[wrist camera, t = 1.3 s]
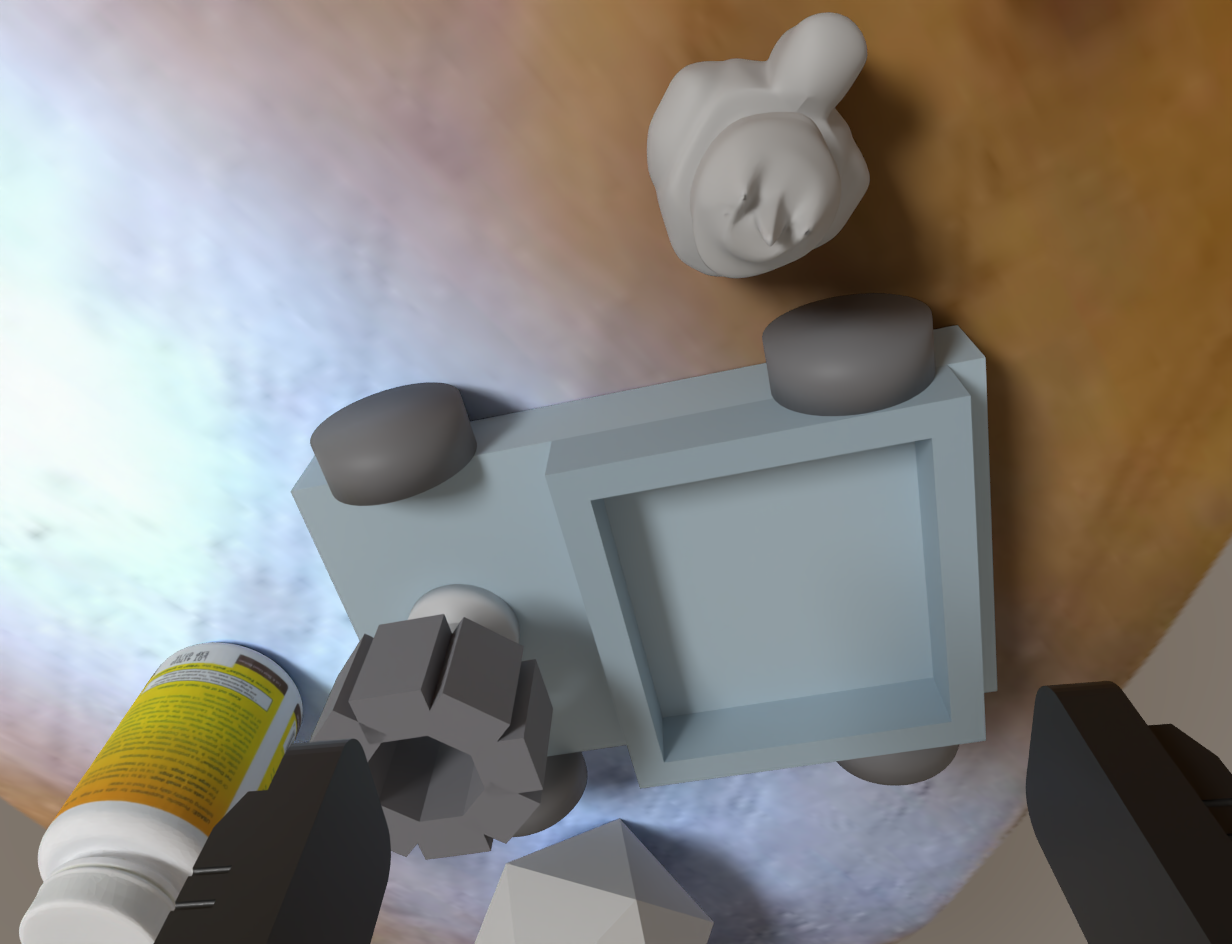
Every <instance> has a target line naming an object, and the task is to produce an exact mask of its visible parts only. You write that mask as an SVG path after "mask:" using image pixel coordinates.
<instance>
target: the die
mask: <svg viewBox="0 0 1232 944" xmlns="http://www.w3.org/2000/svg"><path fill="white" fill-rule="evenodd" d="M713 924H714V922H713V921H712V920H711V919H710V918H709V917H708V915H707V914H706V913H705V912H704V911H703V910H702V909H701V908H700V907H699V905H698V904H697V903H696V902H695V901H694V900H693V899H692V898H691V897H690V896H689V894H688V893H687V892H686V891H685V890H684V889H683V888H682V887H681V886H680V885H679V883H678V882H677V881H676V880H675V879H674V878H673V877H672V876H671V875H670V873H669V872H668V871H667V870H666V869H665V868H664V867H663V866H662V865H661V864H660V862H659V861H658V860H657V859H656V858H655V857H654V856H653V855H652V854H651V853H650V851H649V850H648V849H647V848H646V847H645V846H644V845H643V844H642V843H641V841H640V840H639V839H638V838H637V837H636V836H635V835H634V834H633V833H632V832H631V830H630V829H629V828H628V827H627V826H626V825H625V824H624V823H623V822H622V820H621V819H617V820H615V821H612V822H610V823H607V824H605V825H602V826H600V827H597V828H594V829H592V830H589V831H587V832H584V833H582V834H579V835H577V836H574V837H572V838H569V839H567V840H564V841H561V842H559V843H556V844H554V845H551V846H549V847H546V848H544V849H541V850H539V851H536V852H534V853H531V854H528V855H526V856H523V857H521V858H518V859H516V860H513V861H511V862H508V863H506V865H505V867H504V870H503V872H502V875H501V878H500V880H499V883H498V885H497V888H496V890H495V893H494V895H493V898H492V901H491V903H490V906H489V908H488V911H487V913H486V916H485V918H484V921H483V924H482V926H481V929H480V931H479V934H478V936H477V939H476V941H475V944H707V942H708V939H709V936H710V933H711V930H712V927H713Z"/></svg>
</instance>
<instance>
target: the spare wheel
mask: <svg viewBox="0 0 1232 944" xmlns="http://www.w3.org/2000/svg"><path fill="white" fill-rule="evenodd" d="M523 650H524V646H522V645H520V644H518V643H516V642H514V641H512V640H510V639H508V638H506V637H504V636H502V635H500V634H498V633H496V632H494V631H492V630H490V629H488V628H486V627H484V626H482V625H480V624H478V623H476V622H474V621H471V620H469V619H467V618H465V617H463V619H462V620H461V621H460V623H459V624H458V626H457V627H456V629H455V630H454V632H453V633H452V632H451V630H450V627H449V625H448V622H447V620H446V617H445V615H444V614H440V615H434V616H428V617H422V618H416V619H410V620H404V621H398V622H393V623H387V624H381V625H379V626H378V629H377V631H376V634H375V636H374V638H373V637H371V636H369V635H367V634H364V635H363V637H362V639H361V640H360V642H359V643H358V645H357V646H356V648H355V650H354V651H353V653H352V654H351V656H350V658H349V659H348V661H347V662H346V664H345V666H344V667H343V669H342V670H341V672H340V673H339V675H338V677H337V679H336V681H335V683H334V686H333V688H332V690H331V693H330V695H329V697H328V700H327V702H326V704H325V707H324V709H323V711H322V714H321V716H320V718H319V721H318V723H317V725H316V727H315V730H314V732H313V734H312V737H311V739H310V741H309V742H316V741H329V740H341V739H356V740H358V741H359V742H360V744H361V745H362V747H363V750H364V753H365V756H366V759H367V762H368V765H369V768H370V771H371V774H372V778H373V781H374V784H375V787H376V790H377V793H378V796H379V800H380V803H381V806H382V809H383V812H384V815H385V818H386V822H387V825H388V829H389V834H390V843H391V851H393V852H395V853H398V854H400V855H403V856H405V857H407V856H408V854H409V853H410V852H411V851H412V849H413V848H414V847H415V845H416V844H417V843H418V845H419V847H420V849H421V851H422V853H423V855H424V857H425V859H426V860H427V859H435V858H442V857H450V856H457V855H465V854H473V853H480V852H488V851H491V848H492V842H493V838H494V839H496V840H498V841H501V842H503V843H505V844H506V843H507V842H508V841H509V840H510V839H511V838H512V836H513V835H514V834H515V833H516V832H517V831H518V829H519V828H520V827H521V826H522V825H523V824H524V822H525V821H526V820H527V819H528V818H529V817H530V815H531V814H532V813H533V812H534V811H535V810H536V808H537V807H538V806H539V805H540V804H541V796H542V790H543V786H544V778H545V770H546V762H547V754H548V746H549V738H550V730H551V722H552V713H553V707H552V704H551V701H550V698H549V695H548V692H547V689H546V686H545V684H544V681H543V678H542V675H541V672H540V669H539V666H538V663H537V661H536V659H532V660H526V661H522V655H523Z"/></svg>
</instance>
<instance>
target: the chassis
mask: <svg viewBox="0 0 1232 944" xmlns="http://www.w3.org/2000/svg"><path fill="white" fill-rule="evenodd" d="M762 339H763V345H764V352H765V358H766V363H763V364H758V365H753V366H748V367H743V368H738V369H733V370H728V371H723V372H718V373H713V374H708V375H703V376H698V377H693V378H688V379H683V380H678V381H673V382H668V383H662V384H657V385H652V386H647V387H642V388H637V389H632V390H627V391H622V392H617V393H612V394H607V395H602V396H597V397H592V398H587V399H582V400H577V401H572V402H567V403H562V404H557V405H551V406H546V407H541V408H536V409H531V410H526V411H521V412H516V413H511V414H506V415H501V416H496V417H491V418H486V419H481V420H476V421H471V422H470V421H469V418H468V415H467V412H466V409H465V406H464V403H463V400H462V397H461V395H460V392H459V390H458V389H457V388H455V387H454V386H451V385H449V384H444V383H418V384H411V385H405V386H400V387H396V388H392V389H389V390H385V391H382V392H379V393H376V394H373V395H371V396H368V397H365V398H363V399H361V400H358V401H356V402H354V403H352V404H350V405H348V406H346V407H344V408H343V409H341V410H339V411H338V412H336V413H334V414H333V415H331V416H330V417H329V418H327V419H326V420H325V421H324V422H322V423H321V424H320V425H319V426H318V427H317V429H316V430H315V431H314V433H313V434H312V436H311V439H310V444H311V447H312V449H313V451H314V454H315V456H314V457H313V459H312V460H311V462H310V463H309V465H308V466H307V468H306V469H305V471H304V472H303V474H302V475H301V477H300V478H299V480H298V481H297V483H296V484H295V486H294V487H293V489H292V490H291V493H292V495H293V498H294V500H295V502H296V504H297V506H298V508H299V511H300V513H301V515H302V517H303V519H304V521H305V524H306V526H307V528H308V530H309V532H310V534H311V537H312V539H313V541H314V543H315V545H316V547H317V550H318V552H319V554H320V556H321V558H322V560H323V563H324V565H325V567H326V569H327V571H328V573H329V576H330V578H331V580H332V582H333V584H334V586H335V589H336V591H337V593H338V595H339V597H340V599H341V601H342V604H343V606H344V608H345V610H346V612H347V614H348V617H349V619H350V621H351V623H352V625H353V627H354V630H355V632H356V634H357V636H358V638H359V640H361V639H362V637H363V635H364V634H367V635H369V636H371V637H373V638H374V636H375V634H376V631H377V629H378V626H379V625H381V624H387V623H393V622H398V621H404V620H410V619H416V618H422V617H428V616H434V615H440V614H444V615H445V617H446V620H447V622H448V625H449V627H450V630H451V632H452V633H453V632H454V630H455V629H456V627H457V626H458V624H459V623H460V621H461V620H462V619H463V617H465V618H467V619H469V620H471V621H474V622H476V623H478V624H480V625H482V626H484V627H486V628H488V629H490V630H492V631H494V632H496V633H498V634H500V635H502V636H504V637H506V638H508V639H510V640H512V641H514V642H516V643H518V644H520V645H522V646H524V650H523V655H522V661H526V660H532V659H536V661H537V663H538V666H539V669H540V672H541V675H542V678H543V681H544V684H545V686H546V689H547V692H548V695H549V698H550V701H551V704H552V707H553V713H552V722H551V730H550V738H549V746H548V754H547V762H546V770H545V778H544V786H543V790H542V796H541V804H540V805H539V806H538V807H537V808H536V810H535V811H534V812H533V813H532V814H531V815H530V817H529V818H528V819H527V820H526V821H525V822H524V824H523V825H522V826H521V827H520V828H519V829H518V831H517V832H516V833H515V834H514V835H513V836H512V837H520V836H526V835H531V834H534V833H537V832H540V831H542V830H545V829H547V828H549V827H551V826H553V825H554V824H556V823H557V822H559V821H560V820H561V819H563V818H564V817H565V816H566V815H567V814H568V813H569V812H570V811H571V810H572V809H573V808H574V807H575V806H576V804H577V803H578V801H579V800H580V798H581V797H582V794H583V792H584V790H585V787H586V783H587V767H586V764H585V761H584V758H583V755H582V752H581V751H588V750H595V749H602V748H609V747H616V746H623V745H627V747H628V751H629V754H630V757H631V760H632V764H633V767H634V770H635V774H636V777H637V780H638V783H639V787H640V789H641V788H648V787H655V786H662V785H670V784H677V783H684V782H691V781H698V780H706V779H713V778H720V777H727V776H734V775H742V774H749V773H756V772H763V771H770V770H778V769H785V768H792V767H799V766H807V765H814V764H821V763H828V762H835V761H836V762H837V763H838V764H839V765H840V766H841V767H843V768H844V769H845V770H846V771H848V772H849V773H851V774H853V775H854V776H856V777H858V778H861V779H863V780H866V781H869V782H872V783H877V784H882V785H908V784H914V783H918V782H921V781H924V780H927V779H929V778H931V777H933V776H935V775H937V774H938V773H940V772H941V771H942V770H944V769H945V768H946V767H947V766H948V765H949V764H950V763H951V761H952V760H953V758H954V757H955V755H956V753H957V750H958V746H959V744H965V743H972V742H979V741H986V729H985V706H984V693H987V692H994V691H997V666H996V638H995V610H994V581H993V553H992V525H991V497H990V468H989V440H988V412H987V384H986V357H985V356H984V355H983V354H982V353H981V352H980V350H979V349H978V348H977V347H976V346H975V345H974V343H973V342H972V341H971V340H970V339H969V338H968V337H967V335H966V334H965V333H964V332H963V331H962V330H961V329H960V327H959V326H958V325H955V326H950V327H945V328H940V329H935V330H933V320H932V312H931V310H930V308H929V307H928V306H927V305H926V304H925V303H923V302H921V301H919V300H917V299H914V298H911V297H908V296H902V295H896V294H885V293H866V294H853V295H845V296H838V297H833V298H828V299H824V300H819V301H816V302H812V303H809V304H806V305H803V306H800V307H798V308H795V309H793V310H791V311H789V312H786V313H785V314H783V315H781V316H779V317H778V318H776V319H775V320H774V321H772V322H771V323H770V324H769V325H768V326H767V327H766V329H765V330H764V332H763V336H762Z"/></svg>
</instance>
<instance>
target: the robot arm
mask: <svg viewBox="0 0 1232 944" xmlns="http://www.w3.org/2000/svg"><path fill="white" fill-rule="evenodd" d="M1026 799H1027V806H1028V811H1029V816H1030V819H1031V823H1032V826H1033V829H1034V832H1035V835H1036V837H1037V840H1038V842H1039V844H1040V846H1041V848H1042V850H1043V852H1044V854H1045V856H1046V858H1047V860H1048V862H1049V864H1050V866H1051V869H1052V870H1053V873H1054V875H1055V877H1056V879H1057V881H1058V883H1059V885H1060V887H1061V889H1062V891H1063V893H1064V895H1065V897H1066V899H1067V901H1068V903H1069V905H1070V907H1071V909H1072V911H1073V913H1074V915H1075V917H1076V919H1077V921H1078V923H1079V926H1080V928H1081V930H1082V932H1083V934H1084V936H1085V938H1086V940H1087V942H1088V944H1232V774H1231V773H1230V772H1229V770H1228V769H1227V768H1226V767H1225V765H1224V764H1223V763H1222V761H1221V760H1220V759H1219V758H1218V756H1216V755H1215V754H1213V753H1212V752H1211V751H1209V750H1208V749H1206V748H1205V747H1203V746H1202V745H1201V744H1199V743H1198V742H1196V741H1195V740H1193V739H1192V738H1191V737H1189V736H1188V735H1186V734H1185V733H1184V732H1182V731H1181V730H1179V729H1178V728H1177V727H1175V726H1174V725H1172V724H1162V725H1149V726H1148V725H1147V724H1146V723H1145V721H1144V720H1143V718H1142V717H1141V716H1140V714H1139V713H1138V712H1137V710H1136V709H1135V707H1134V706H1133V705H1132V703H1131V702H1130V700H1129V699H1128V698H1127V696H1126V695H1125V694H1124V692H1123V691H1122V690H1121V689H1120V687H1119V686H1117V685H1116V684H1115V683H1113V682H1111V681H1101V682H1088V683H1075V684H1063V685H1050V686H1042V687H1041V688H1040V689H1039V690H1038V692H1037V695H1036V699H1035V706H1034V715H1033V724H1032V733H1031V741H1030V750H1029V759H1028V768H1027V777H1026ZM390 861H391V843H390V834H389V829H388V825H387V822H386V818H385V815H384V812H383V809H382V806H381V803H380V800H379V796H378V793H377V790H376V787H375V784H374V781H373V778H372V774H371V771H370V768H369V765H368V762H367V759H366V756H365V753H364V750H363V747H362V745H361V744H360V742H359V741H358V740H356V739H341V740H329V741H316V742H304V743H295V744H292V745H291V746H290V747H289V748H288V749H287V750H286V752H285V754H284V756H283V758H282V760H281V762H280V764H279V767H278V769H277V771H276V773H275V775H274V777H273V779H272V781H271V784H270V786H269V788H268V790H261V791H248V792H247V793H246V794H245V795H244V796H243V797H242V798H241V799H240V800H239V801H238V802H237V803H236V805H235V806H234V807H233V808H232V809H231V810H230V811H229V812H228V813H227V814H226V815H225V816H224V817H223V818H222V819H221V820H220V821H219V822H218V823H217V824H216V825H215V826H214V827H213V829H212V831H211V833H210V835H209V837H208V839H207V841H206V843H205V845H204V847H203V849H202V850H201V852H200V854H199V856H198V858H197V860H196V862H195V864H194V866H193V868H192V869H193V874H192V876H188V878H187V880H186V881H185V883H184V885H183V887H182V889H181V891H180V893H179V895H178V897H177V899H176V901H175V909H174V911H170V913H169V914H168V916H167V918H166V920H165V922H164V924H163V926H162V928H161V930H160V932H159V934H158V936H157V938H156V940H155V942H154V944H370V942H371V939H372V935H373V932H374V928H375V925H376V921H377V918H378V914H379V911H380V907H381V903H382V900H383V896H384V893H385V889H386V886H387V882H388V877H389V871H390Z"/></svg>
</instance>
